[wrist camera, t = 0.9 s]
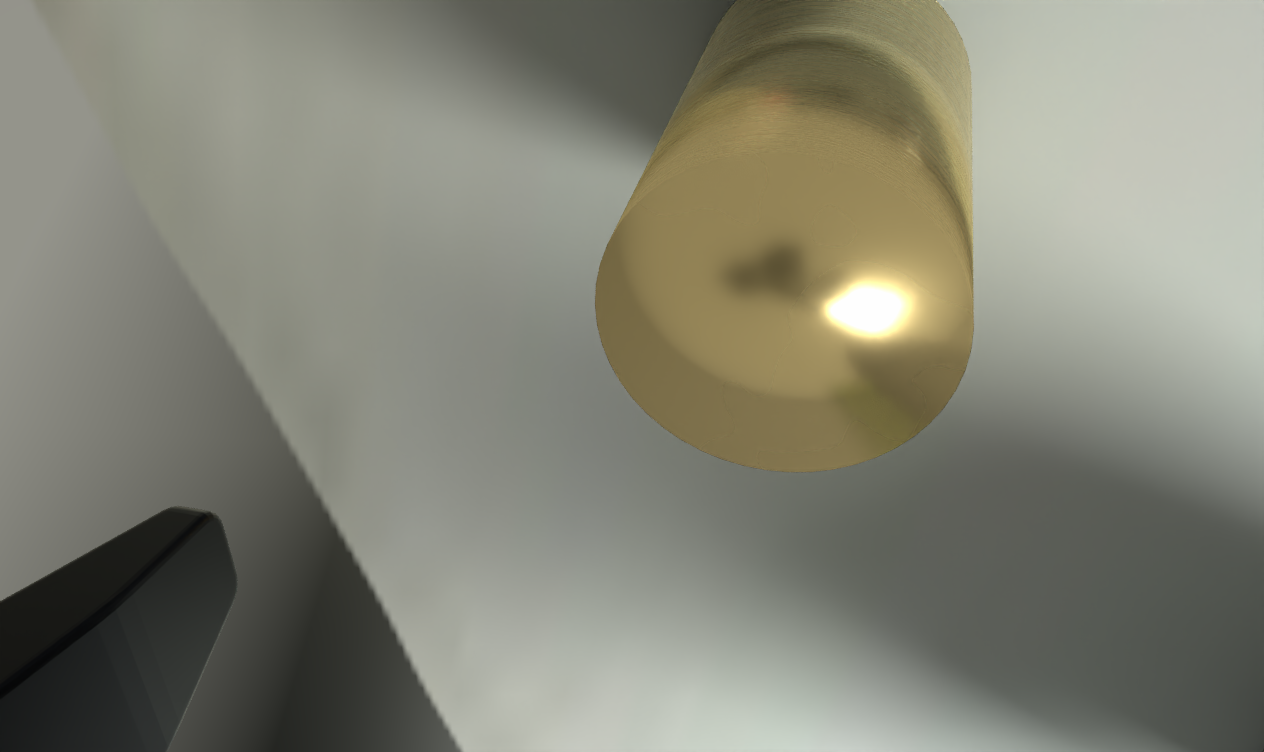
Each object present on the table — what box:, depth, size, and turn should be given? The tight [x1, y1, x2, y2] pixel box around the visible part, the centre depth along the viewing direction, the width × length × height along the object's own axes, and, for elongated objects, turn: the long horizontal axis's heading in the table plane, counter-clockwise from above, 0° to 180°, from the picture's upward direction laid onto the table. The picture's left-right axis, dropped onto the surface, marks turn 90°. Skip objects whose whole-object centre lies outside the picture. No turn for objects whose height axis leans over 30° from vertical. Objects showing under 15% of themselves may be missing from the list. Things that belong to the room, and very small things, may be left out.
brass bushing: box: [595, 0, 974, 472], centre depth 16 cm, size 4×4×7 cm
